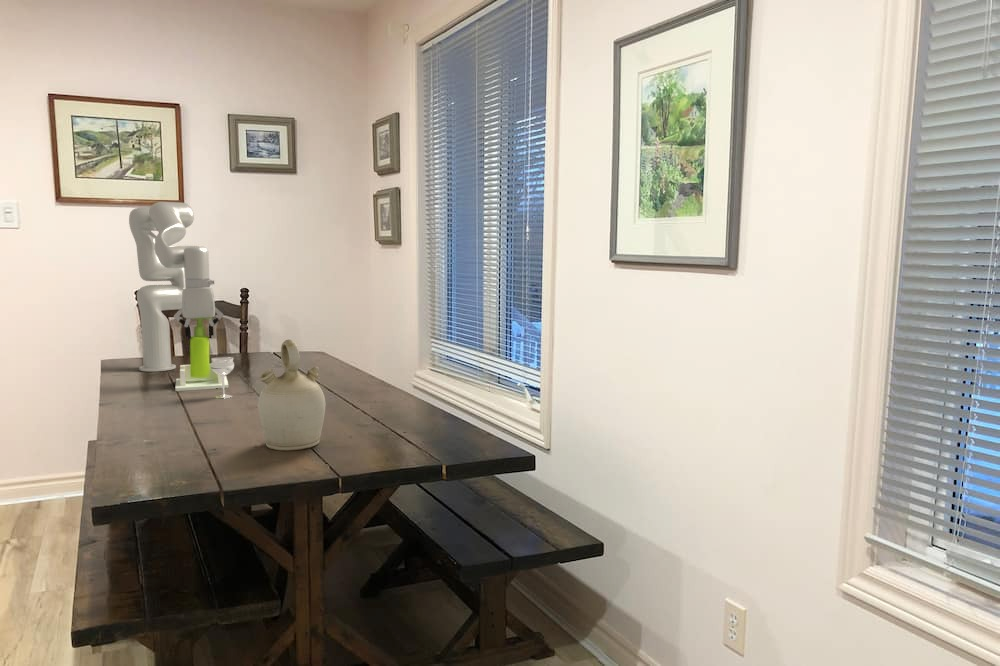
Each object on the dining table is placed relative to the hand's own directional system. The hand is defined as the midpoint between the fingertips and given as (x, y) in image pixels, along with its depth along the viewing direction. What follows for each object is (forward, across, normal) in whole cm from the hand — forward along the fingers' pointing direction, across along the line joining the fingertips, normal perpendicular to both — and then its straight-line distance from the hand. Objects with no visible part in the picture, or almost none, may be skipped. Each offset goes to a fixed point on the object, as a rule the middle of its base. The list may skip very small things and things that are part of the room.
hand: (199, 337), depth 248 cm
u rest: (+16, 0, 0) cm, 16 cm away
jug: (+16, -19, +88) cm, 92 cm away
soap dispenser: (+13, 0, 0) cm, 13 cm away
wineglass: (+16, -6, +24) cm, 30 cm away
